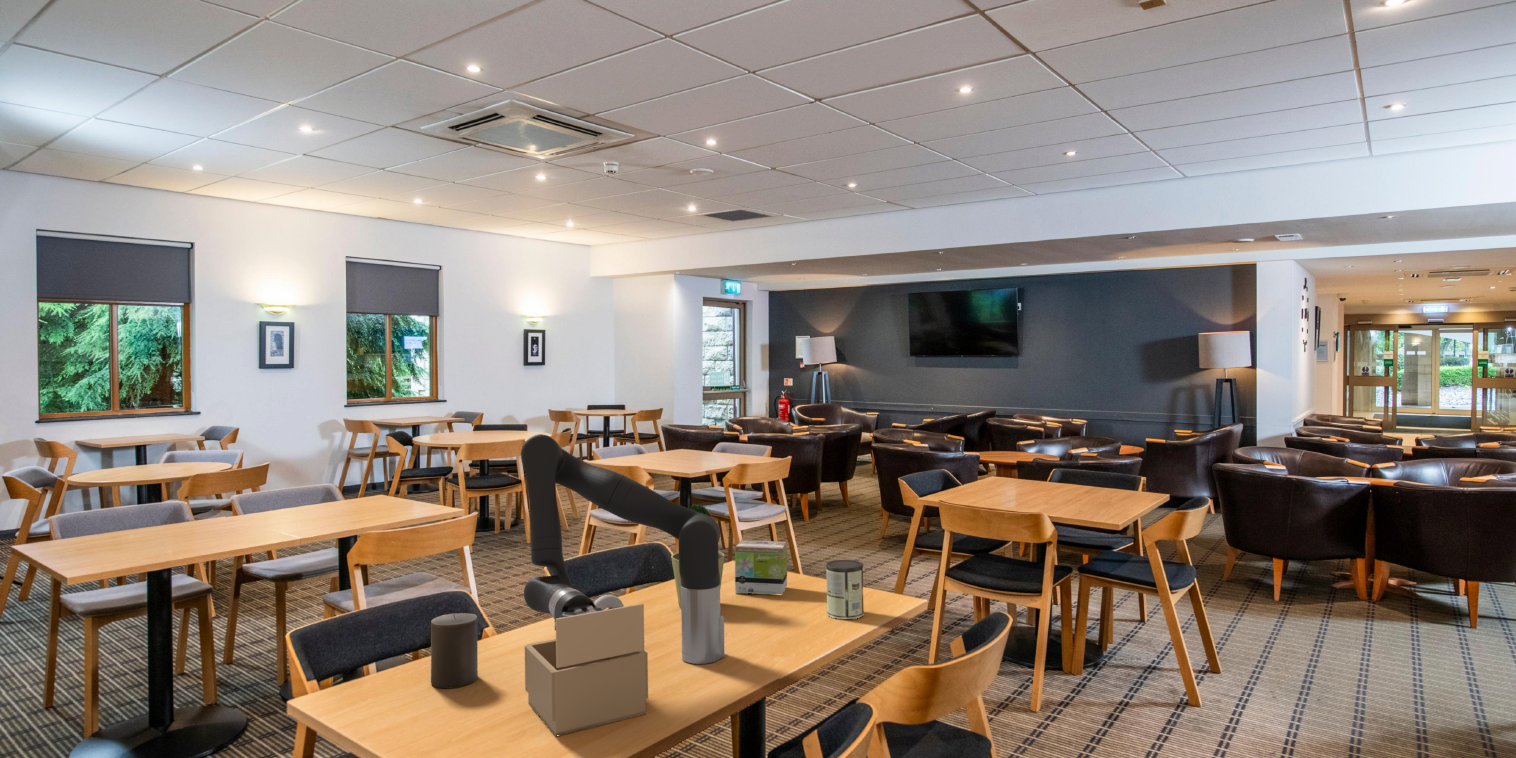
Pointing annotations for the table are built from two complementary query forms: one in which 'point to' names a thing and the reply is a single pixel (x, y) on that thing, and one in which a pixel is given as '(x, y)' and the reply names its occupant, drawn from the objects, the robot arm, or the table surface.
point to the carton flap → (599, 635)
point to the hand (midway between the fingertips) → (600, 629)
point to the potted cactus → (676, 557)
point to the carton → (584, 688)
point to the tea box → (760, 567)
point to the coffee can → (844, 589)
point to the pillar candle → (454, 650)
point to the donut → (608, 602)
